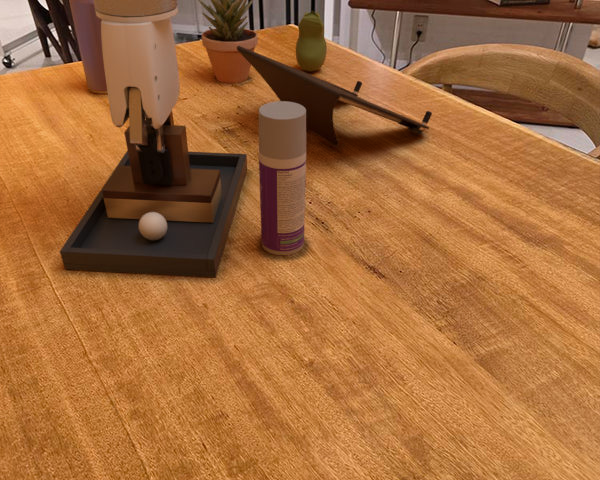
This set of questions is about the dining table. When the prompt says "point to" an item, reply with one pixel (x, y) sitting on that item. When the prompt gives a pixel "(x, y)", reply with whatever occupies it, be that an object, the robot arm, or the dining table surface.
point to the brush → (164, 198)
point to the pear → (311, 42)
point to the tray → (173, 245)
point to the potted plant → (228, 40)
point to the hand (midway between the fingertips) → (161, 175)
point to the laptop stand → (319, 96)
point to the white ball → (152, 226)
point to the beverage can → (89, 43)
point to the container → (282, 176)
